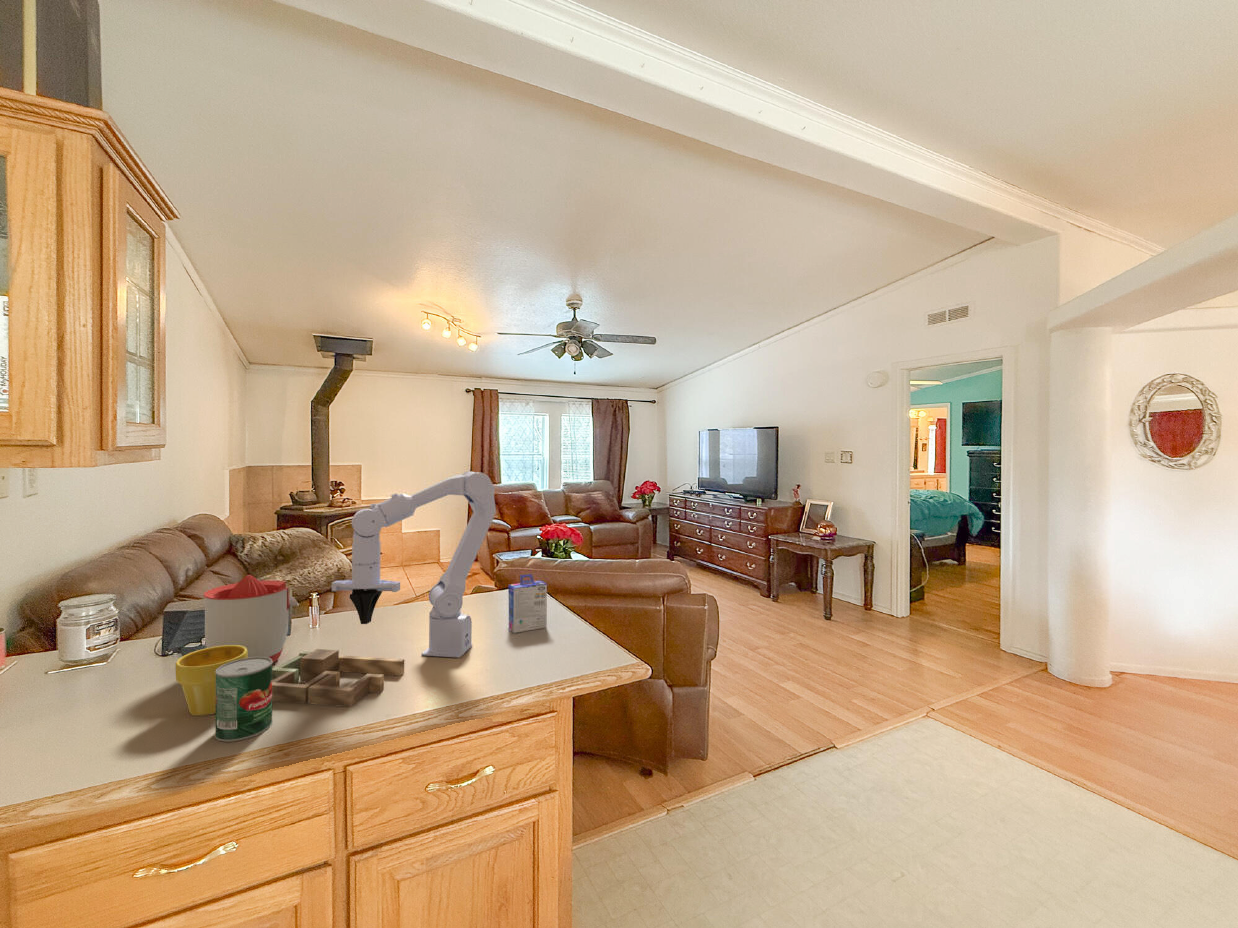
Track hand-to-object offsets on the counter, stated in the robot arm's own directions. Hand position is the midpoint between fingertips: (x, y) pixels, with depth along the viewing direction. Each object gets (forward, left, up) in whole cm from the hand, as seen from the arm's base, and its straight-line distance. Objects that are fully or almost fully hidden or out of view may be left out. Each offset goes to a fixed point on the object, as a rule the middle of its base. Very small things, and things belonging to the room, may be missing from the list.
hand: (365, 622), depth 113 cm
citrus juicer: (+25, +3, -10) cm, 27 cm away
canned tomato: (+4, +28, -10) cm, 30 cm away
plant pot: (+16, +22, -10) cm, 29 cm away
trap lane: (+1, +11, -9) cm, 14 cm away
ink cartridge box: (-29, -29, -10) cm, 42 cm away
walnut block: (+6, +8, -10) cm, 13 cm away
